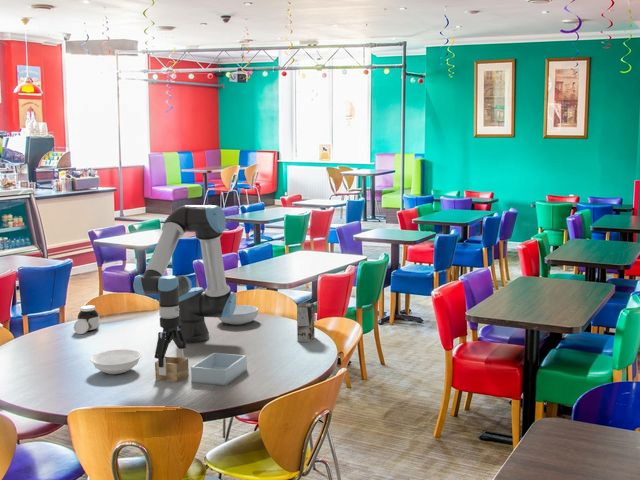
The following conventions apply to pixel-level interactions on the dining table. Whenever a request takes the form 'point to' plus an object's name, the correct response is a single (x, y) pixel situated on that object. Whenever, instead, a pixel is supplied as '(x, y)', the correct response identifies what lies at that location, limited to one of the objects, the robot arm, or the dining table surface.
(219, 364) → the plastic tote
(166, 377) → the wooden crate
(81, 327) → the spread jar
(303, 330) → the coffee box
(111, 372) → the bowl
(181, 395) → the dining table surface
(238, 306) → the serving bowl
